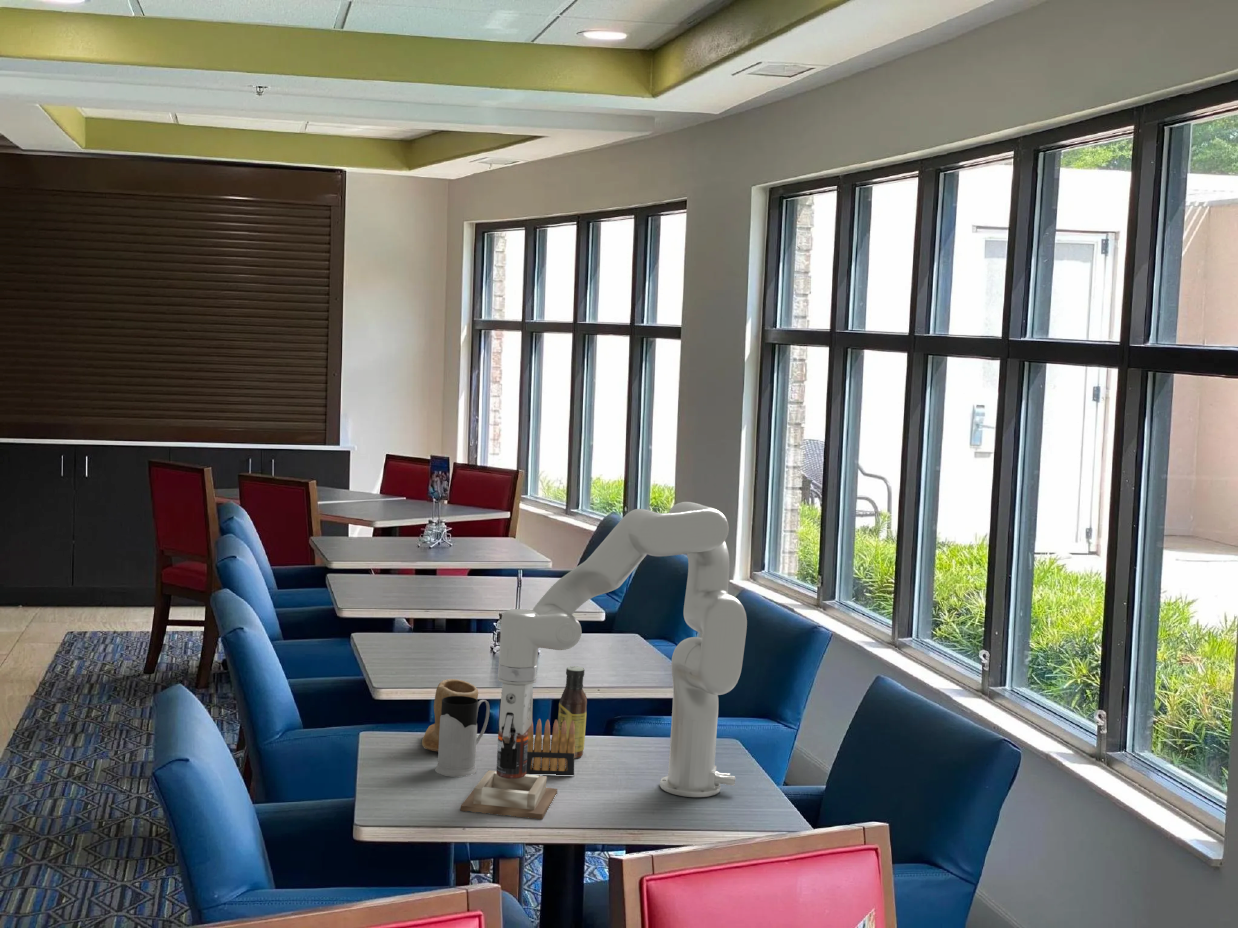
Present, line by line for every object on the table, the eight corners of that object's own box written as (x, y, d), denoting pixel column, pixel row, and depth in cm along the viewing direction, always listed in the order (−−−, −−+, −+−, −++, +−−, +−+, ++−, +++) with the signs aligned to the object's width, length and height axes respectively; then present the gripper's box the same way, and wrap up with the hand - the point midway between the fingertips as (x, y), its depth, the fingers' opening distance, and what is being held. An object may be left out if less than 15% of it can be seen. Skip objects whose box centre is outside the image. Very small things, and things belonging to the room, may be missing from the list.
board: (557, 793, 271) (558, 774, 271) (542, 819, 255) (543, 798, 255) (479, 785, 273) (481, 766, 273) (460, 810, 257) (461, 790, 257)
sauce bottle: (554, 750, 301) (560, 663, 299) (582, 751, 301) (587, 664, 300) (556, 759, 294) (561, 670, 293) (585, 760, 295) (590, 671, 293)
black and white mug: (426, 770, 281) (430, 699, 280) (470, 756, 293) (473, 688, 292) (458, 779, 276) (462, 707, 275) (501, 764, 288) (505, 696, 287)
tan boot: (472, 757, 292) (475, 690, 291) (417, 754, 292) (420, 686, 291) (479, 738, 307) (483, 674, 306) (427, 735, 307) (431, 671, 306)
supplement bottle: (522, 770, 267) (526, 714, 266) (529, 779, 261) (532, 722, 261) (493, 770, 266) (496, 714, 265) (498, 780, 260) (502, 722, 259)
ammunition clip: (573, 774, 285) (576, 719, 284) (574, 777, 283) (577, 721, 282) (523, 772, 284) (526, 717, 283) (523, 775, 282) (526, 719, 281)
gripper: (527, 684, 253) (521, 778, 254) (544, 665, 270) (538, 753, 271) (488, 680, 254) (483, 773, 255) (508, 662, 271) (502, 749, 272)
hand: (511, 762), depth 263 cm, fingers closed on supplement bottle, 6 cm apart
